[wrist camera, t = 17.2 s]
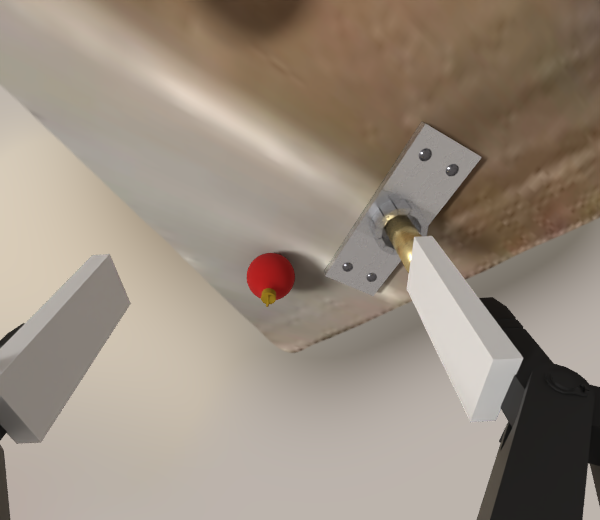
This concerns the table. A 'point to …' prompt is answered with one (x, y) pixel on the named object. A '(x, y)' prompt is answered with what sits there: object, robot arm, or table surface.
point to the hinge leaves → (401, 206)
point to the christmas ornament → (270, 277)
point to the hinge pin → (402, 237)
